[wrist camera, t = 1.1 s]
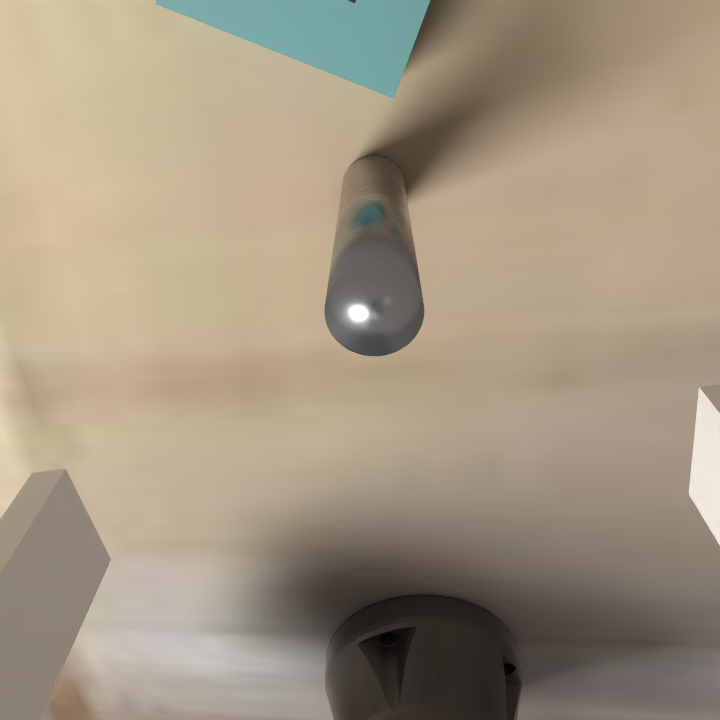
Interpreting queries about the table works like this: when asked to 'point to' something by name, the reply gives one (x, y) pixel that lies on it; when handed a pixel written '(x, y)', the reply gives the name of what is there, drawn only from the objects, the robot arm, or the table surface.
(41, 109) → the table surface
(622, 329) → the table surface
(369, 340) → the long pin
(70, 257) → the table surface
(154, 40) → the table surface
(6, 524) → the robot arm
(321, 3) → the drilled block
